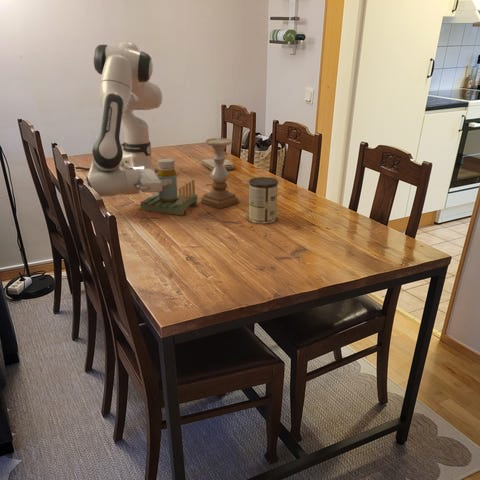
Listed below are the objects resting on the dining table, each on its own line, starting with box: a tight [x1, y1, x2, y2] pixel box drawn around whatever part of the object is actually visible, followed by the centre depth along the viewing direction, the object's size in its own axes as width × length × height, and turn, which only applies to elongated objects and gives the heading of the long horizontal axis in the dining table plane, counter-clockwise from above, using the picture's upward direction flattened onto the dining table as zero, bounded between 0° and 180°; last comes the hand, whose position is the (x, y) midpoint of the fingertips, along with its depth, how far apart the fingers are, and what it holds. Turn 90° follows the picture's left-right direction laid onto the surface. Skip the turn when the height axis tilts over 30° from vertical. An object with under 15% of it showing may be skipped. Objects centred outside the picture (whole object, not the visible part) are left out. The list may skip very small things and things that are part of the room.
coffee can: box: [248, 176, 279, 225], centre depth 174 cm, size 10×10×14 cm
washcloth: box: [200, 158, 235, 171], centre depth 242 cm, size 12×18×3 cm, turn 26°
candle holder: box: [200, 137, 239, 209], centre depth 188 cm, size 11×11×24 cm
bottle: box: [156, 157, 178, 202], centre depth 183 cm, size 7×7×15 cm
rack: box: [139, 179, 198, 216], centre depth 185 cm, size 18×14×10 cm
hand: (169, 178), depth 183 cm, fingers closed on bottle, 6 cm apart
